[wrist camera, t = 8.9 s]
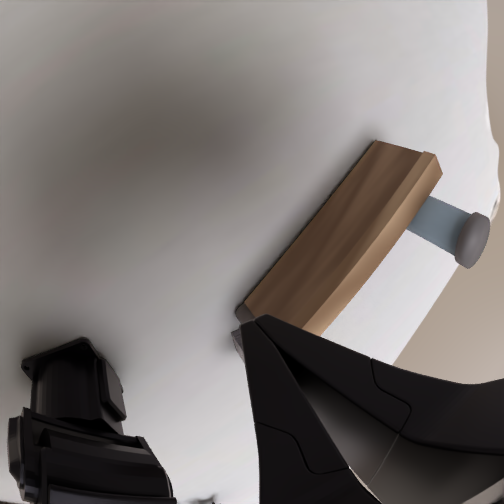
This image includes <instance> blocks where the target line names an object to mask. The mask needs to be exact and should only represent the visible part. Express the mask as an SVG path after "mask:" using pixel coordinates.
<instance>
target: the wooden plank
mask: <svg viewBox="0 0 504 504" xmlns="http://www.w3.org/2000/svg"><path fill="white" fill-rule="evenodd" d="M442 175H443V173H442V170H441V168H440V165H439V162H438V160H437V157H436V155H435V154H432V153H429V152H426V151H424V152H423V153H422V152H418V151H415V150H411V149H408V148H404V147H401V146H397V145H393V144H389V143H385V142H381V141H377V140H375V142H374V143H373V144H372V145H371V147H370V148H369V149H368V151H367V152H366V153H365V154H364V156H363V157H362V158H361V160H360V161H359V162H358V163H357V165H356V166H355V167H354V168H353V170H352V171H351V172H350V173H349V175H348V176H347V177H346V178H345V180H344V181H343V182H342V183H341V185H340V186H339V187H338V188H337V190H336V191H335V192H334V193H333V195H332V196H331V197H330V198H329V200H328V201H327V202H326V203H325V205H324V206H323V207H322V208H321V210H320V211H319V212H318V213H317V215H316V216H315V217H314V218H313V219H312V221H311V222H310V223H309V224H308V226H307V227H306V228H305V229H304V230H303V232H302V233H301V234H300V235H299V237H298V238H297V239H296V240H295V241H294V243H293V244H292V245H291V246H290V248H289V249H288V250H287V251H286V252H285V254H284V255H283V256H282V257H281V258H280V260H279V261H278V262H277V263H276V264H275V266H274V267H273V268H272V269H271V270H270V272H269V273H268V274H267V275H266V276H265V278H264V279H263V280H262V281H261V282H260V284H259V285H258V286H257V287H256V288H255V289H254V291H253V292H252V293H251V294H250V295H249V297H248V298H247V299H246V300H245V301H244V303H245V304H242V305H241V306H240V307H239V308H238V309H237V311H236V317H237V318H238V320H239V321H240V323H241V324H242V323H245V322H247V321H249V320H254V318H256V317H258V316H260V315H263V314H270V315H272V316H274V317H276V318H278V319H281V320H283V321H285V322H287V323H290V324H292V325H294V326H297V327H299V328H301V329H303V330H306V331H308V332H310V333H313V334H315V335H317V336H320V335H321V334H322V333H323V332H324V331H325V330H326V329H327V328H328V326H329V325H330V324H331V323H332V322H333V321H334V319H335V318H336V317H337V316H338V315H339V314H340V313H341V311H342V310H343V309H344V308H345V307H346V305H347V304H348V303H349V302H350V301H351V299H352V298H353V297H354V296H355V295H356V293H357V292H358V291H359V290H360V288H361V287H362V286H363V285H364V283H365V282H366V281H367V280H368V278H369V277H370V276H371V275H372V273H373V272H374V271H375V270H376V268H377V267H378V266H379V264H380V263H381V262H382V261H383V259H384V258H385V257H386V255H387V254H388V253H389V251H390V250H391V249H392V247H393V246H394V245H395V243H396V242H397V240H398V239H399V238H400V236H401V235H402V234H403V232H404V231H405V229H406V228H407V227H408V225H409V224H410V222H411V221H412V220H413V218H414V217H415V215H416V214H417V212H418V211H419V209H420V208H421V207H422V205H423V204H424V202H425V201H426V199H427V198H428V196H429V195H430V193H431V192H432V190H433V189H434V187H435V185H436V184H437V182H438V181H439V179H440V178H441V176H442Z"/></svg>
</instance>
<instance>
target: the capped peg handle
mask: <svg viewBox="0 0 504 504" xmlns="http://www.w3.org/2000/svg"><path fill="white" fill-rule="evenodd" d="M406 229H407V230H409V231H411V232H413V233H415V234H416V235H418V236H420V237H422V238H424V239H426V240H427V241H429V242H431V243H433V244H435V245H436V246H438V247H440V248H442V249H444V250H445V251H447V252H449V253H451V254H452V255H454V256H455V260H456V262H457V263H459V264H460V265H462V266H464V267H466V268H467V269H468V268H471V267H472V266H473V265H474V264H475V263H476V262H477V261H478V259H479V258H480V256H481V254H482V252H483V250H484V248H485V246H486V243H487V240H488V236H489V231H490V220H489V218H488V217H486V216H484V215H482V214H480V213H478V212H475V213H473V214H472V215H471V214H469V213H467V212H465V211H463V210H461V209H458V208H456V207H454V206H452V205H450V204H447V203H445V202H443V201H441V200H438V199H436V198H434V197H431V196H428V198H427V199H426V201H425V202H424V204H423V205H422V207H421V208H420V209H419V211H418V212H417V214H416V215H415V217H414V218H413V220H412V221H411V222H410V224H409V225H408V227H407V228H406Z"/></svg>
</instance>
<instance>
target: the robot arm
mask: <svg viewBox="0 0 504 504" xmlns="http://www.w3.org/2000/svg"><path fill="white" fill-rule="evenodd" d="M239 328H240V335H241V342H242V349H243V355H244V362H245V368H246V375H247V381H248V388H249V394H250V400H251V407H252V413H253V419H254V423H255V424H254V426H255V432H256V439H257V447H258V455H259V504H382V503H383V504H504V378H503V379H499V380H495V381H490V382H486V383H481V384H461V383H456V382H451V381H447V380H442V379H438V378H434V377H430V376H426V375H422V374H418V373H414V372H411V371H407V370H403V369H400V368H398V367H395V366H392V365H389V364H386V363H384V362H381V361H379V360H376V359H373V358H371V359H370V357H368V356H366V355H363V354H361V353H358V352H356V351H353V350H351V349H348V348H346V347H344V346H341V345H339V344H336V343H334V342H332V341H329V340H327V339H324V338H322V337H320V336H317V335H315V334H313V333H310V332H308V331H306V330H303V329H301V328H299V327H297V326H294V325H292V324H290V323H287V322H285V321H283V320H281V319H278V318H276V317H274V316H272V315H270V314H263V315H260V316H258V317H256V318H254V320H249V321H247V322H245V323H242V324H240V326H239ZM82 345H86V346H82ZM27 366H28V367H27ZM21 368H22V370H23V371H24V372H25V373H26V375H27V376H28V377H29V378H30V379H31V380H32V389H31V403H30V409H28V408H25V407H23V409H22V413H21V416H17V417H15V418H9V423H8V439H7V450H8V464H9V472H10V473H11V475H12V476H13V477H14V479H15V480H16V482H17V486H18V488H19V491H20V495H21V498H22V500H23V501H26V502H30V504H177V499H176V498H175V497H173V489H172V484H171V482H170V479H169V477H168V475H167V473H166V471H165V470H164V468H163V467H162V466H161V464H160V463H159V461H158V460H157V458H156V457H155V455H154V453H153V452H152V450H151V449H150V447H149V445H148V444H147V442H146V441H145V439H144V437H140V436H135V437H132V436H127V435H124V433H123V428H122V423H121V421H124V420H126V417H127V416H126V411H125V406H124V401H123V396H122V393H123V388H122V386H121V385H120V380H119V378H118V376H117V375H116V374H115V372H114V371H113V369H112V368H111V367H110V365H109V364H108V362H107V361H106V360H105V359H103V358H101V357H100V356H99V355H98V353H97V352H96V350H95V349H94V347H93V346H92V344H91V343H90V341H89V340H87V339H84V338H83V339H79V340H76V341H74V342H71V343H68V344H66V345H63V346H60V347H58V348H55V349H52V350H49V351H47V352H44V353H41V354H39V355H36V356H33V357H30V358H28V359H25V360H23V361H22V363H21ZM348 465H349V466H350V467H351V469H352V470H353V471H354V472H355V473H356V474H357V475H358V476H359V478H360V479H361V480H362V481H363V482H364V483H365V484H366V485H368V486H367V487H368V488H369V489H370V490H371V491H372V492H373V493H374V495H376V497H377V498H378V499H379V500H380V501H381V502H382V503H381V502H380V501H378V500H377V499H376V498H375V497H374V496H373V495H372V494H371V493H370V492H369V491H368V490H367V489H366V488H365V487H363V485H362V484H361V483H360V482H359V481H358V479H357V478H356V477H355V475H354V474H353V472H352V471H351V469H349V466H348Z"/></svg>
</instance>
